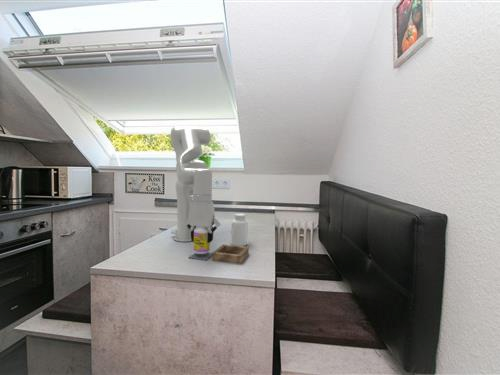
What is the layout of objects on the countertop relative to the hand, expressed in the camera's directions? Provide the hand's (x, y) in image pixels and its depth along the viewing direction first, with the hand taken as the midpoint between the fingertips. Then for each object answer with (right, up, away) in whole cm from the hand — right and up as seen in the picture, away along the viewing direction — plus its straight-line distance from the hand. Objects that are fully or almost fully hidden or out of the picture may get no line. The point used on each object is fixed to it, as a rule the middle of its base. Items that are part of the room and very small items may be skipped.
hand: (201, 240), depth 98 cm
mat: (0, -7, 0) cm, 7 cm away
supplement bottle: (0, -5, 0) cm, 5 cm away
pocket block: (+12, -7, 0) cm, 14 cm away
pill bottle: (+15, -6, +18) cm, 24 cm away
